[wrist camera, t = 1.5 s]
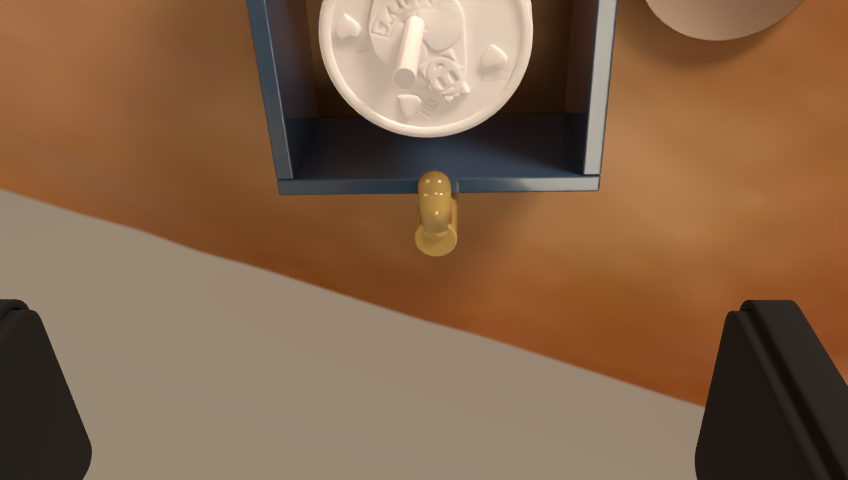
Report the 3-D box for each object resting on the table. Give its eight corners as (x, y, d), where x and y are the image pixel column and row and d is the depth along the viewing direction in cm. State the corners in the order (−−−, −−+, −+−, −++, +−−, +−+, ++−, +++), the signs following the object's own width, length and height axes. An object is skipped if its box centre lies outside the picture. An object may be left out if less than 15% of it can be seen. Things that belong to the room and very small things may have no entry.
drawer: (254, -243, 26) (179, -243, 19) (609, -261, 25) (662, -268, 19) (310, 162, 35) (272, 261, 28) (577, 158, 34) (604, 259, 27)
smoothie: (466, -160, 27) (466, -99, 16) (544, -8, 30) (593, 142, 18) (325, -66, 29) (231, 52, 18) (410, 69, 32) (379, 247, 20)
